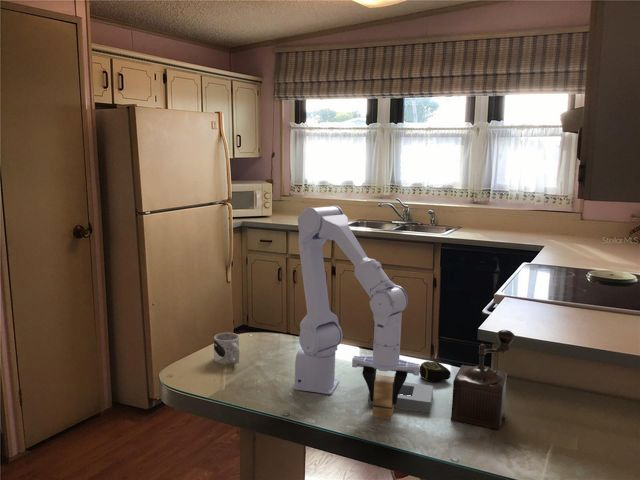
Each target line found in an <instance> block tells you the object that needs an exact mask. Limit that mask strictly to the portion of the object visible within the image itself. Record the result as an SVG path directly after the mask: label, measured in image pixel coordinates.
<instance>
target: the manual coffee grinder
mask: <svg viewBox="0 0 640 480" xmlns="http://www.w3.org/2000/svg"><path fill="white" fill-rule="evenodd" d="M496 338H497V340H498V341H499V342H498V343H499V344H498V346H497V348H486V345H485V344H483V343H481V344H480V345H479V346H478V347H479V350H478V354H479V363H478V365H475V366H472V365H464V364H461V366H460V367H459V369H458V371H457V373H456V375H455V376H454V379H453V381H452V383H453V384H452V385H453V386H452V400H451V413H450V421H453V422H457V423H460V424H465V425H469V426H473V427H478V428H481V429H485V430H486V429H487V430H492V431H498V432H499V431H500V430H501V427H502V425H503V423H504V422H505V421H506V417H507V415H506V414H505V404H506V403H505V401H506V400H505V399H506V389H507V378H508V377H507V375H508V373H507V372H505V371H500V370H499V369H492V368H490V367H489V366H485V365H484V364H485V363H484V362H485V355H486V354H487V353H488V354H489V353H499V352H502V353H505V352H509V351H511V350H512V349H511V344H512V343H513V341H515V338H516V336H515V333H513V332H512V331H511V330H508V329H501V330H499V331H498V332H497V333H496Z"/></svg>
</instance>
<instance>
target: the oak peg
mask: <svg viewBox="0 0 640 480" xmlns="http://www.w3.org/2000/svg"><path fill="white" fill-rule="evenodd" d="M393 396H394V376H390V375H383V374H382V375H381V374H376V379H375V382H374V400H373V404H372V417H375V418H382V419H389V420H392V416H393V412H394V409H395V408H394V404H393Z"/></svg>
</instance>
